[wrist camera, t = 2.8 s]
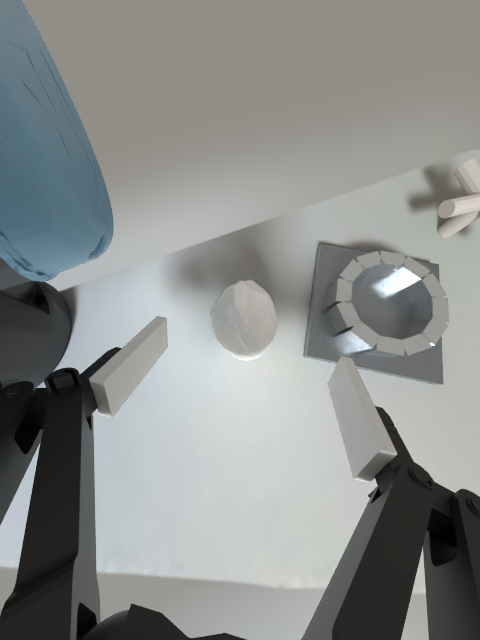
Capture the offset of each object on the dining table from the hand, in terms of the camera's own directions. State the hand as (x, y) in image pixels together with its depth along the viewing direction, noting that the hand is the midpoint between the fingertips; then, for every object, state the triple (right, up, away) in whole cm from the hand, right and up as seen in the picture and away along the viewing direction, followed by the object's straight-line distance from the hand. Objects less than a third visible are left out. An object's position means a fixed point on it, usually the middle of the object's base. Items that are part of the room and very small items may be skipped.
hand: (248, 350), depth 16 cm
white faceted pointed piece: (0, +1, +9) cm, 9 cm away
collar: (+15, +3, +9) cm, 18 cm away
